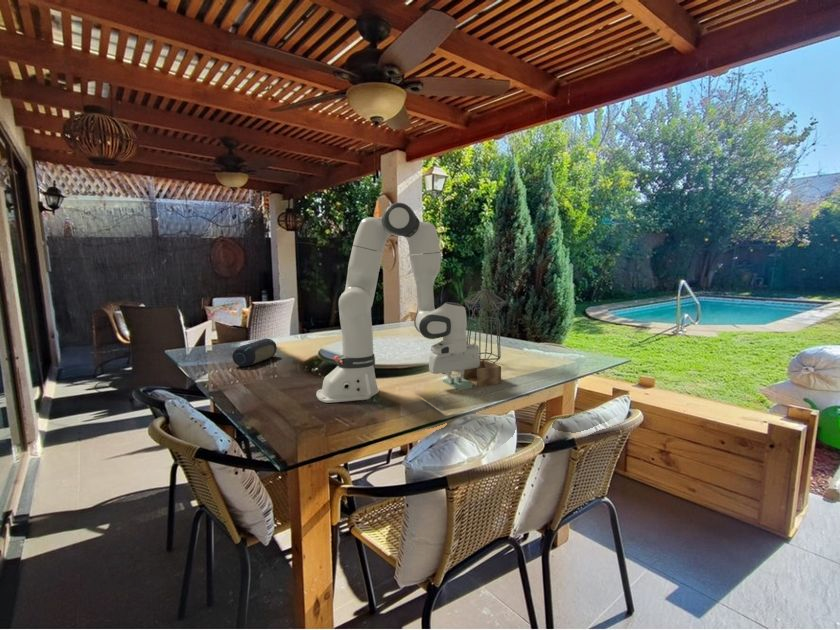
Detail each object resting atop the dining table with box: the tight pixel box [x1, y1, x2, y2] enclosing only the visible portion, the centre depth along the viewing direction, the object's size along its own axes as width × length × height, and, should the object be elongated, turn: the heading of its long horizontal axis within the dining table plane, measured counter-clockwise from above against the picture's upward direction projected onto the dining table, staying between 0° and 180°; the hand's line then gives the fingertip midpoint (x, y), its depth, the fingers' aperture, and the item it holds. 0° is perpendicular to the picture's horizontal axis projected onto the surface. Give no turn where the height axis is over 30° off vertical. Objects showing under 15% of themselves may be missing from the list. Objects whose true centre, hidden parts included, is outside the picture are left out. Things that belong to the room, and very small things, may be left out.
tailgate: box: [442, 376, 476, 391], centre depth 161 cm, size 1×12×7 cm
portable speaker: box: [232, 338, 278, 368], centre depth 206 cm, size 25×10×10 cm, turn 165°
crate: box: [462, 360, 502, 388], centre depth 165 cm, size 10×12×8 cm
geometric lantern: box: [462, 288, 508, 364], centre depth 191 cm, size 16×16×35 cm
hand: (455, 382), depth 161 cm, fingers closed
